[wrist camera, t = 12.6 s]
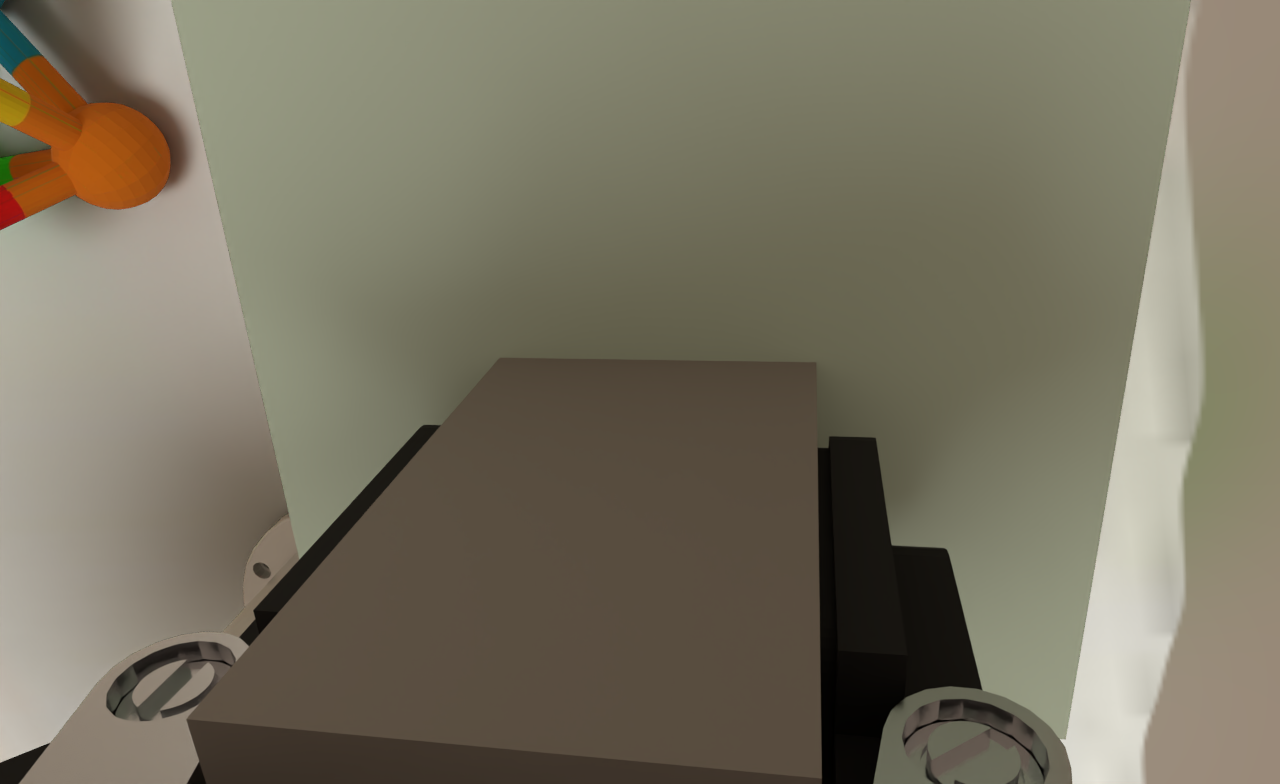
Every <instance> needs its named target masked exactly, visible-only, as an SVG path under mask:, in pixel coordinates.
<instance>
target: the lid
mask: <svg viewBox="0 0 1280 784" xmlns="http://www.w3.org/2000/svg"><path fill="white" fill-rule="evenodd" d="M171 2H172V7H173V11H174V15H175V20H176V24H177V29H178V33H179V37H180V42H181V46H182V50H183V55H184V59H185V63H186V68H187V72H188V76H189V81H190V85H191V90H192V94H193V98H194V103H195V107H196V111H197V116H198V120H199V124H200V129H201V133H202V137H203V142H204V146H205V151H206V155H207V159H208V164H209V168H210V172H211V177H212V181H213V185H214V190H215V194H216V198H217V203H218V207H219V212H220V216H221V220H222V225H223V229H224V233H225V238H226V242H227V246H228V251H229V255H230V259H231V264H232V268H233V273H234V277H235V281H236V286H237V290H238V294H239V299H240V303H241V307H242V312H243V316H244V320H245V325H246V329H247V334H248V338H249V342H250V347H251V351H252V355H253V360H254V364H255V368H256V373H257V377H258V381H259V386H260V390H261V395H262V399H263V403H264V408H265V412H266V416H267V421H268V425H269V429H270V434H271V438H272V442H273V447H274V451H275V456H276V460H277V464H278V469H279V473H280V477H281V482H282V486H283V490H284V495H285V499H286V503H287V508H288V512H289V517H290V521H291V525H292V530H293V534H294V538H295V543H296V547H297V551H298V556H299V559H300V558H301V557H302V556H303V555H304V554H305V553H306V552H307V551H308V550H309V549H310V547H311V546H312V545H313V544H314V543H315V542H316V541H317V540H318V539H319V538H320V536H321V535H322V534H323V533H324V532H325V531H326V530H327V529H328V528H329V527H330V525H331V524H332V523H333V522H334V521H335V520H336V519H337V518H338V517H339V516H340V515H341V513H342V512H343V511H344V510H345V509H346V508H347V507H348V506H349V505H350V504H351V502H352V501H353V500H354V499H355V498H356V497H357V496H358V495H359V494H360V493H361V492H362V490H363V489H364V488H365V487H366V486H367V485H368V484H369V483H370V482H371V481H372V479H373V478H374V477H375V476H376V475H377V474H378V473H379V472H380V471H381V470H382V469H383V467H384V466H385V465H386V464H387V463H388V462H389V461H390V460H391V459H392V458H393V456H394V455H395V454H396V453H397V452H398V451H399V450H400V449H401V448H402V447H403V446H404V444H405V443H406V442H407V441H408V440H409V439H410V438H411V437H412V436H413V435H414V433H415V432H416V431H417V430H418V429H419V428H420V427H421V426H423V425H441V426H440V427H439V428H438V429H437V430H436V432H435V433H434V434H433V435H432V436H431V437H430V439H429V440H428V441H427V442H426V443H425V444H424V445H423V447H422V448H421V449H420V450H419V451H418V452H417V454H416V455H415V456H414V457H413V458H412V459H411V460H410V462H409V463H408V464H407V465H406V466H405V467H404V469H403V470H402V471H401V472H400V473H399V474H398V475H397V477H396V478H395V479H394V480H393V481H392V482H391V483H390V485H389V486H388V487H387V488H386V489H385V490H384V492H383V493H382V494H381V495H380V496H379V497H378V498H377V500H376V501H375V502H374V503H373V504H372V505H371V507H370V508H369V509H368V510H367V511H366V512H365V513H364V515H363V516H362V517H361V518H360V519H359V520H358V522H357V523H356V524H355V525H354V526H353V527H352V528H351V530H350V531H349V532H348V533H347V534H346V535H345V536H344V538H343V539H342V540H341V541H340V542H339V543H338V545H337V546H336V547H335V548H334V549H333V550H332V551H331V553H330V554H329V555H328V556H327V557H326V558H325V560H324V561H323V562H322V563H321V564H320V565H319V566H318V568H317V569H316V570H315V571H314V572H313V573H312V575H311V576H310V577H309V578H308V579H307V580H306V581H305V583H304V584H303V585H302V586H301V587H300V588H299V590H298V591H297V592H296V593H295V594H294V595H293V596H292V598H291V599H290V600H289V601H288V602H287V603H286V605H285V606H284V607H283V608H282V609H281V610H280V611H279V613H278V614H277V615H276V616H275V617H274V618H273V619H272V621H271V622H270V623H269V624H268V625H267V626H266V628H265V629H264V630H263V631H262V632H261V633H260V634H259V636H258V637H257V638H256V639H255V640H254V641H253V643H252V644H251V645H250V646H249V647H248V648H247V649H246V651H245V652H244V653H243V654H242V655H241V656H240V658H239V659H238V660H237V661H236V662H235V663H234V664H233V666H232V667H231V668H230V669H229V670H228V671H227V672H226V674H225V675H224V676H223V677H222V678H221V679H220V681H219V682H218V683H217V684H216V685H215V686H214V687H213V689H212V690H211V691H210V692H209V693H208V694H207V696H206V697H205V698H204V699H203V700H202V701H201V702H200V704H199V705H198V706H197V707H196V708H195V709H194V711H193V712H192V713H191V714H190V715H189V716H188V717H187V719H186V720H187V723H188V727H189V730H190V733H191V736H192V740H193V743H194V746H195V749H196V752H197V756H198V759H199V762H200V765H201V769H202V772H203V775H204V778H205V781H206V784H822V750H821V674H820V598H819V523H818V448H828V445H829V436H839V437H873V438H876V442H877V448H878V455H879V462H880V469H881V476H882V483H883V490H884V496H885V503H886V510H887V517H888V524H889V531H890V538H891V544H892V545H895V546H915V547H936V548H945V549H947V551H948V553H949V556H950V560H951V564H952V568H953V572H954V576H955V580H956V584H957V588H958V592H959V596H960V600H961V604H962V609H963V613H964V617H965V621H966V625H967V629H968V633H969V637H970V641H971V645H972V649H973V653H974V657H975V661H976V665H977V669H978V673H979V677H980V681H981V685H982V690H983V691H986V692H990V693H993V694H996V695H1000V696H1003V697H1006V698H1008V699H1010V700H1011V701H1013V702H1015V703H1017V704H1019V705H1021V706H1023V707H1025V708H1027V709H1029V710H1030V711H1032V712H1033V713H1034V714H1035V715H1037V716H1038V717H1039V718H1040V719H1041V720H1043V721H1044V722H1045V723H1046V724H1048V725H1049V726H1050V727H1051V728H1052V730H1053V731H1054V732H1055V734H1056V735H1057V737H1058V738H1059V739H1066V734H1067V728H1068V722H1069V716H1070V710H1071V704H1072V698H1073V692H1074V687H1075V681H1076V675H1077V669H1078V663H1079V657H1080V651H1081V645H1082V639H1083V633H1084V628H1085V622H1086V616H1087V610H1088V604H1089V598H1090V592H1091V586H1092V580H1093V574H1094V569H1095V563H1096V557H1097V551H1098V545H1099V539H1100V533H1101V527H1102V521H1103V515H1104V510H1105V504H1106V498H1107V492H1108V486H1109V480H1110V474H1111V468H1112V462H1113V456H1114V451H1115V445H1116V439H1117V433H1118V427H1119V421H1120V415H1121V409H1122V403H1123V397H1124V392H1125V386H1126V380H1127V374H1128V368H1129V362H1130V356H1131V350H1132V344H1133V339H1134V333H1135V327H1136V321H1137V315H1138V309H1139V303H1140V297H1141V291H1142V285H1143V280H1144V274H1145V268H1146V262H1147V256H1148V250H1149V244H1150V238H1151V232H1152V226H1153V221H1154V215H1155V209H1156V203H1157V197H1158V191H1159V185H1160V179H1161V173H1162V167H1163V162H1164V156H1165V150H1166V144H1167V138H1168V132H1169V126H1170V120H1171V114H1172V108H1173V103H1174V97H1175V91H1176V85H1177V79H1178V73H1179V67H1180V61H1181V55H1182V49H1183V44H1184V38H1185V32H1186V26H1187V20H1188V14H1189V8H1190V2H1191V0H171Z"/></svg>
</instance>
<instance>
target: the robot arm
mask: <svg viewBox="0 0 1280 784" xmlns="http://www.w3.org/2000/svg"><path fill="white" fill-rule="evenodd" d="M440 426H441V425H423V426H421V427H420V428H419V429H418V430H417V431H416V432H415V433H414V435H413V436H412V437H411V438H410V439H409V440H408V441H407V442H406V443H405V444H404V446H403V447H402V448H401V449H400V450H399V451H398V452H397V453H396V454H395V455H394V456H393V458H392V459H391V460H390V461H389V462H388V463H387V464H386V465H385V466H384V467H383V469H382V470H381V471H380V472H379V473H378V474H377V475H376V476H375V477H374V478H373V479H372V481H371V482H370V483H369V484H368V485H367V486H366V487H365V488H364V489H363V490H362V492H361V493H360V494H359V495H358V496H357V497H356V498H355V499H354V500H353V501H352V502H351V504H350V505H349V506H348V507H347V508H346V509H345V510H344V511H343V512H342V513H341V515H340V516H339V517H338V518H337V519H336V520H335V521H334V522H333V523H332V524H331V525H330V527H329V528H328V529H327V530H326V531H325V532H324V533H323V534H322V535H321V536H320V538H319V539H318V540H317V541H316V542H315V543H314V544H313V545H312V546H311V547H310V549H309V550H308V551H307V552H306V553H305V554H304V555H303V556H302V557H301V558H300V559H299V556H298V551H297V547H296V543H295V538H294V534H293V530H292V525H291V521H290V517H289V514H287V515H285V516H284V517H282V518H281V519H280V520H279V521H278V522H277V523H276V524H275V525H274V526H273V527H272V528H271V529H269V530H268V531H267V532H266V533H265V535H264V536H263V537H262V538H261V540H260V541H259V542H258V543H257V544H256V546H255V547H254V548H253V550H252V553H251V555H250V557H249V559H248V561H247V564H246V568H245V574H244V580H243V599H244V609H243V610H242V611H241V613H240V614H239V615H238V616H237V617H236V618H235V619H234V620H233V621H232V622H231V623H230V624H229V625H228V627H227V628H226V629H225V630H224V631H223V632H197V633H191V634H184V635H179V636H176V637H172V638H169V639H166V640H163V641H159V642H156V643H154V644H152V645H150V646H148V647H146V648H144V649H141V650H139V651H137V652H135V653H133V654H132V655H130V656H129V657H127V658H126V659H124V660H123V661H121V662H120V663H118V664H117V665H115V666H114V667H113V668H112V669H111V670H110V671H109V672H108V673H107V674H106V675H105V676H104V677H103V678H102V679H101V680H100V681H99V682H98V683H97V684H96V685H95V686H94V688H93V689H92V690H91V692H90V693H89V694H88V695H87V697H86V698H85V699H84V701H83V702H82V703H81V704H80V706H79V707H78V708H77V710H76V711H75V712H74V713H73V715H72V716H71V717H70V719H69V720H68V721H67V722H66V724H65V725H64V726H63V728H62V729H61V730H60V731H59V733H58V734H57V735H56V737H55V738H54V739H53V740H52V742H51V743H49V744H46V745H44V746H41V747H39V748H36V749H34V750H31V751H29V752H26V753H24V754H21V755H19V756H16V757H14V758H11V759H9V760H6V761H4V762H1V763H0V784H206V781H205V778H204V775H203V772H202V769H201V765H200V762H199V759H198V756H197V752H196V749H195V746H194V743H193V740H192V736H191V733H190V730H189V727H188V723H187V720H186V719H187V717H188V716H189V715H190V714H191V713H192V712H193V711H194V709H195V708H196V707H197V706H198V705H199V704H200V702H201V701H202V700H203V699H204V698H205V697H206V696H207V694H208V693H209V692H210V691H211V690H212V689H213V687H214V686H215V685H216V684H217V683H218V682H219V681H220V679H221V678H222V677H223V676H224V675H225V674H226V672H227V671H228V670H229V669H230V668H231V667H232V666H233V664H234V663H235V662H236V661H237V660H238V659H239V658H240V656H241V655H242V654H243V653H244V652H245V651H246V649H247V648H248V647H249V646H250V645H251V644H252V643H253V641H254V640H255V639H256V638H257V637H258V636H259V634H260V633H261V632H262V631H263V630H264V629H265V628H266V626H267V625H268V624H269V623H270V622H271V621H272V619H273V618H274V617H275V616H276V615H277V614H278V613H279V611H280V610H281V609H282V608H283V607H284V606H285V605H286V603H287V602H288V601H289V600H290V599H291V598H292V596H293V595H294V594H295V593H296V592H297V591H298V590H299V588H300V587H301V586H302V585H303V584H304V583H305V581H306V580H307V579H308V578H309V577H310V576H311V575H312V573H313V572H314V571H315V570H316V569H317V568H318V566H319V565H320V564H321V563H322V562H323V561H324V560H325V558H326V557H327V556H328V555H329V554H330V553H331V551H332V550H333V549H334V548H335V547H336V546H337V545H338V543H339V542H340V541H341V540H342V539H343V538H344V536H345V535H346V534H347V533H348V532H349V531H350V530H351V528H352V527H353V526H354V525H355V524H356V523H357V522H358V520H359V519H360V518H361V517H362V516H363V515H364V513H365V512H366V511H367V510H368V509H369V508H370V507H371V505H372V504H373V503H374V502H375V501H376V500H377V498H378V497H379V496H380V495H381V494H382V493H383V492H384V490H385V489H386V488H387V487H388V486H389V485H390V483H391V482H392V481H393V480H394V479H395V478H396V477H397V475H398V474H399V473H400V472H401V471H402V470H403V469H404V467H405V466H406V465H407V464H408V463H409V462H410V460H411V459H412V458H413V457H414V456H415V455H416V454H417V452H418V451H419V450H420V449H421V448H422V447H423V445H424V444H425V443H426V442H427V441H428V440H429V439H430V437H431V436H432V435H433V434H434V433H435V432H436V430H437V429H438V428H439V427H440ZM818 523H819V598H820V674H821V750H822V784H1072V773H1071V766H1070V762H1069V759H1068V755H1067V752H1066V749H1065V746H1064V745H1063V743H1062V742H1061V741H1060V739H1059V738H1058V737H1057V735H1056V734H1055V732H1054V731H1053V730H1052V728H1051V727H1050V726H1049V725H1048V724H1046V723H1045V722H1044V721H1043V720H1041V719H1040V718H1039V717H1038V716H1037V715H1035V714H1034V713H1033V712H1032V711H1030V710H1029V709H1027V708H1025V707H1023V706H1021V705H1019V704H1017V703H1015V702H1013V701H1011V700H1010V699H1008V698H1006V697H1003V696H1000V695H996V694H993V693H990V692H986V691H983V690H982V685H981V681H980V677H979V673H978V669H977V665H976V661H975V657H974V653H973V649H972V645H971V641H970V637H969V633H968V629H967V625H966V621H965V617H964V613H963V609H962V604H961V600H960V596H959V592H958V588H957V584H956V580H955V576H954V572H953V568H952V564H951V560H950V556H949V553H948V551H947V549H945V548H936V547H915V546H895V545H892V544H891V538H890V531H889V524H888V517H887V510H886V503H885V496H884V490H883V483H882V476H881V469H880V462H879V455H878V448H877V442H876V438H873V437H839V436H829V445H828V448H818Z"/></svg>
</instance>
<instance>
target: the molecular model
mask: <svg viewBox="0 0 1280 784" xmlns="http://www.w3.org/2000/svg"><path fill="white" fill-rule="evenodd" d="M4 1H5V0H0V8H1V7H2V5H3V3H4ZM0 64H1V65H2V66H3V67H4V68H5V69H6V70H7V71H8V72H9V73H10V74H11V75H12V76H13V77H14V79H15V80H16V81H17V82H18V83H19V84H20V85H21V86H22V87H23V88H24V89H25V90H26V91H27V92H28V93H27V92H26V91H24V90H22V89H20V88H18V87H16V86H14V85H12V84H10V83H8V82H7V81H5V80H3V79H1V78H0V122H2V123H4V124H7V125H9V126H11V127H13V128H15V129H17V130H19V131H21V132H23V133H25V134H27V135H29V136H32V137H34V138H36V139H38V140H40V141H42V142H44V143H46V144H48V145H50V146H51V149H47V150H42V151H36V152H30V153H25V154H19V155H13V156H8V157H2V158H0V230H2V229H4V228H6V227H8V226H10V225H12V224H14V223H16V222H19V221H21V220H23V219H25V218H27V217H29V216H31V215H33V214H35V213H38V212H40V211H42V210H44V209H46V208H48V207H50V206H52V205H55V204H57V203H59V202H61V201H63V200H65V199H67V198H69V197H72V196H74V195H76V196H77V197H79V198H81V199H82V200H84V201H86V202H88V203H90V204H92V205H95V206H99V207H102V208H106V209H118V210H119V209H126V208H131V207H135V206H138V205H141V204H143V203H146V202H148V201H149V200H151V199H152V198H154V197H155V196H157V195H158V193H159V192H160V191H161V190H162V189H163V188H164V186H165V184H166V182H167V180H168V177H169V172H170V151H169V147H168V145H167V142H166V140H165V138H164V136H163V134H162V133H161V131H160V130H159V129H158V128H157V126H156V125H155V124H154V123H153V122H152V121H151V120H150V119H149V118H147V117H146V116H145V115H143V114H142V113H140V112H139V111H136V110H134V109H132V108H130V107H127V106H125V105H122V104H116V103H90V104H87V103H86V102H85V101H84V99H83V98H82V97H81V96H80V95H79V94H78V93H77V92H76V91H75V90H74V89H73V88H72V87H71V85H70V84H69V83H68V82H67V81H66V80H65V79H64V78H63V77H62V76H61V75H60V74H59V73H58V72H57V70H56V69H55V68H54V67H53V66H52V65H51V64H50V63H49V62H48V61H47V60H46V59H45V58H44V56H43V55H42V54H41V53H40V52H39V51H38V50H37V49H36V48H35V47H34V46H33V45H32V44H31V42H30V41H29V40H28V39H27V38H26V37H25V36H24V35H23V34H22V33H21V32H20V31H19V30H18V28H17V27H16V26H15V25H14V24H13V23H12V22H11V21H10V20H9V19H8V18H7V17H6V16H5V14H4V13H3V12H2V11H1V10H0Z"/></svg>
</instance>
